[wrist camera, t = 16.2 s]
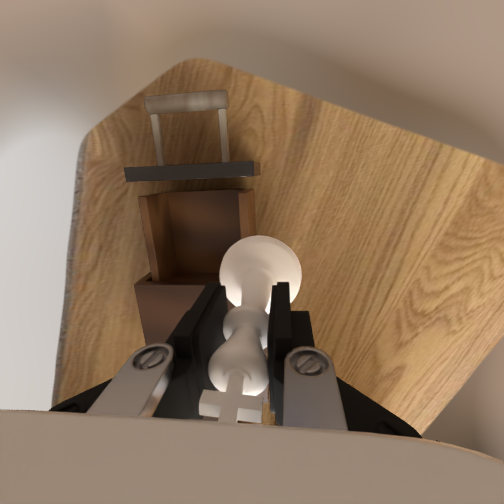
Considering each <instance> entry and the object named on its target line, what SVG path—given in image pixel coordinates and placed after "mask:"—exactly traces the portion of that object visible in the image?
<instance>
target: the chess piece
mask: <svg viewBox="0 0 504 504" xmlns="http://www.w3.org/2000/svg"><path fill="white" fill-rule="evenodd" d="M219 277H220V283H221V285H225V287H226V296H227V298H228V299H229V301H230V302H231V303H232V304H234V305H235V306H236V307H235V308H233V309H231V310H230V311H229V312H228V313H227V314H226V316H225V317H224V320H223V334H224V337H225V339H226V342H225V343H224V344H222V345H221V346H220V347H219V348H218V349H217V350H216V351H215V352H214V354H213V355H212V357H211V358H210V361H209V364H208V374H209V378H210V380H211V382H212V383H213V385H214V386H215V387H216V388H217V389H218V390H219V391H212V390H203V392H202V395H201V398H200V401H199V415H204V416H211V417H218V418H219V419H218V422H232V423H237V422H238V420H240V421H248V422H255V423H261V420H262V409H263V397H260V396H257V395H258V394H260V393H261V392H263V391H264V390H265V388H266V387H267V385H268V383H269V372H268V360H267V357H266V355H265V353H264V351H263V349H265V348H266V347H267V331H268V321H269V312H270V302H271V292H272V285H277V282H289V285H290V303H291V302H292V301H293V300H294V298H295V297H296V295H297V293H298V291H299V288H300V283H301V277H302V273H301V266H300V263H299V260H298V258H297V256H296V255H295V253H294V252H293V251H292V249H291V248H290V247H288V246H287V245H286V244H285V243H283V242H282V241H280V240H278V239H275V238H272V237H269V236H250V237H246V238H244V239H241V240H239V241H238V242H236V243H235V244H233V245H232V246H231V247H230V248H229V249H228V251H227V252H226V254H225V255H224V257H223V260H222V263H221V267H220V274H219Z"/></svg>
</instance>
